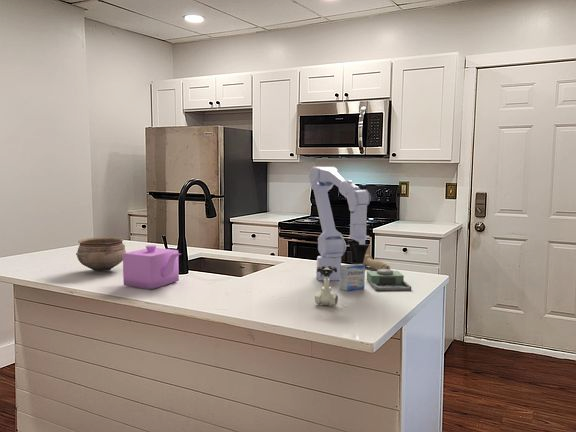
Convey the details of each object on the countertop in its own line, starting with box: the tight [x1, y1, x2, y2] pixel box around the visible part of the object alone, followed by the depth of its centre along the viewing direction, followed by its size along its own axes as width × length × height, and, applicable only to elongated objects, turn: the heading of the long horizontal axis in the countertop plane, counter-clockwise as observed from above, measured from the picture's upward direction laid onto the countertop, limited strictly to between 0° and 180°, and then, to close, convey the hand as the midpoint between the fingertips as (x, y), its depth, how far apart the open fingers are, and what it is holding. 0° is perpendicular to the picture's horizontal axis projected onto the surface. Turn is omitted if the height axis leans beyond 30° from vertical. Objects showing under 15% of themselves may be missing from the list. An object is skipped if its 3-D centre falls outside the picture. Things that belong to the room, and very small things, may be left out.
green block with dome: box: [366, 269, 405, 285], centre depth 192 cm, size 12×8×4 cm
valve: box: [314, 266, 339, 307], centre depth 160 cm, size 7×7×12 cm
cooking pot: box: [75, 236, 127, 272], centre depth 211 cm, size 25×19×12 cm
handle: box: [363, 254, 391, 271], centre depth 215 cm, size 5×6×15 cm
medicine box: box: [339, 263, 366, 292], centre depth 182 cm, size 8×4×9 cm, turn 118°
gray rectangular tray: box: [370, 280, 412, 292], centre depth 184 cm, size 13×9×2 cm
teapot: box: [122, 244, 181, 290], centre depth 188 cm, size 15×25×14 cm, turn 63°
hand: (357, 261), depth 183 cm, fingers open, 7 cm apart
